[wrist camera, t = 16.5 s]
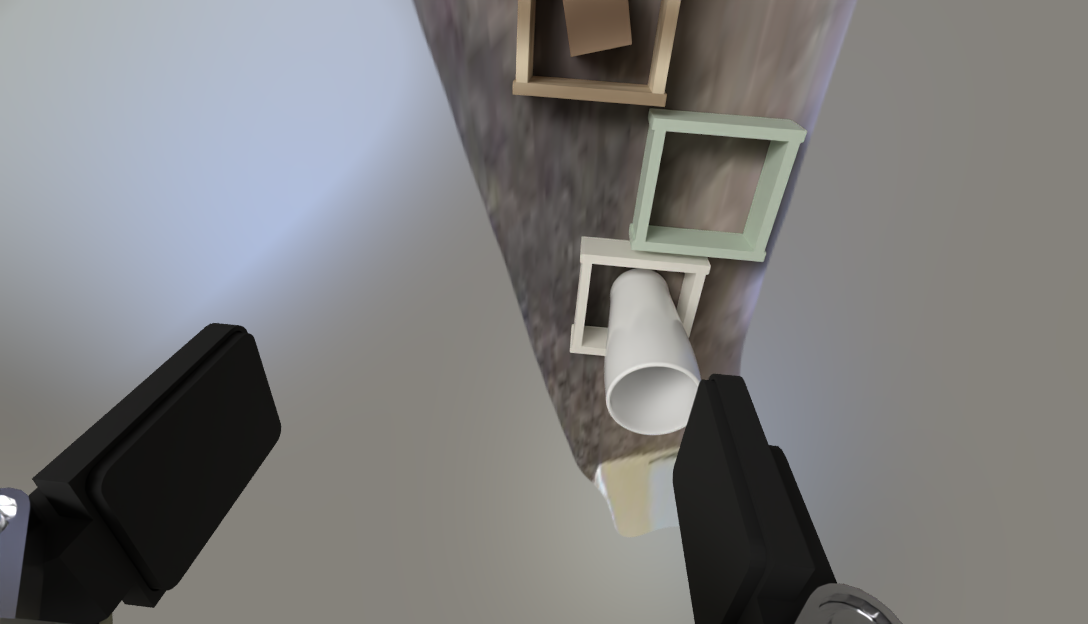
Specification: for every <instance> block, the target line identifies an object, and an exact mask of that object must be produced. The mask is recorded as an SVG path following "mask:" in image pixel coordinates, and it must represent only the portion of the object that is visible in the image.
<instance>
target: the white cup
mask: <svg viewBox="0 0 1088 624" xmlns="http://www.w3.org/2000/svg"><path fill="white" fill-rule="evenodd" d="M701 380H702V379H701V374H700V370H699V366H698V363H697V359H696V356H695V353H694V350H693V348H692V345H691V343H690V340H689V338H688V336H687V333H686V331H685V329H684V326H683V324H682V322H681V319H680V317H679V315H678V312H677V310H676V308H675V305H674V303H673V300H672V298H671V295H670V292H669V288H668V285H667V283H666V281H665V279H664V278H663V277H662V276H661V275H660V274H658V273H657V272H655V271H653V270H650V269H643V268H635V269H631V270H628V271H626V272H624V273H622V274H621V275H620V276H619V277H618V278H617V279H616V280H615V281H614V283H613V285H612V287H611V291H610V312H609V322H608V331H607V340H606V348H605V360H604V383H605V395H606V404H607V408H608V411H609V413H610V415H611V416H612V418H613V419H614V420H615V421H616V422H617V423H618V424H619V425H621V426H622V427H624V428H626V429H628V430H630V431H632V432H635V433H639V434H645V435H662V434H668V433H672V432H675V431H678V430H680V429H682V428H684V427H686V425H687V422H688V419H689V415H690V412H691V409H692V405H693V402H694V399H695V396H696V392H697V389H698V386H699V383H700V381H701Z"/></svg>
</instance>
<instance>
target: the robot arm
mask: <svg viewBox="0 0 1088 624" xmlns="http://www.w3.org/2000/svg"><path fill="white" fill-rule="evenodd" d="M280 433H281V423H280V420H279V416H278V413H277V410H276V407H275V404H274V400H273V397H272V394H271V391H270V387H269V384H268V381H267V378H266V374H265V371H264V368H263V365H262V361H261V358H260V355H259V352H258V349H257V345H256V342H255V339H254V337H253V336H252V335H251V334H249V333H248V332H247V330H246V329H245V328H244V327H242V326H239V325H228V324H219V323H212V324H209V325H208V326H206V327H205V328H204V329H203V330H201V331H200V332H199V333H198V334H197V335H196V336H195V337H194V338H192V339H191V340H190V341H189V342H188V343H187V344H185V345H184V346H183V347H182V348H181V349H180V350H179V351H177V352H176V353H175V354H174V355H173V356H172V357H171V358H169V359H168V360H167V361H166V362H165V363H164V364H163V365H161V366H160V367H159V368H158V369H157V370H156V371H155V372H153V373H152V374H151V375H150V376H149V377H148V378H147V379H145V380H144V381H143V382H142V383H141V384H140V385H139V386H137V387H136V388H135V389H134V390H133V391H132V392H131V393H130V394H128V395H127V396H126V397H125V398H124V399H123V400H121V401H120V402H119V403H118V404H117V405H116V406H115V407H113V408H112V409H111V410H110V411H109V412H108V413H107V414H105V415H104V416H103V417H102V418H101V419H100V420H99V421H97V422H96V423H95V424H94V425H93V426H92V427H91V428H89V429H88V430H87V431H86V432H85V433H84V434H83V435H81V436H80V437H79V438H78V439H77V440H76V441H75V442H73V443H72V444H71V445H70V446H69V447H68V448H67V449H65V450H64V451H63V452H62V453H61V454H60V455H59V456H57V457H56V458H55V459H54V460H53V461H52V462H51V463H49V464H48V465H47V466H46V467H45V468H44V469H43V470H41V471H40V472H39V473H38V474H37V475H36V476H35V477H33V479H32V480H33V481H34V482H35V484H36V485H37V486H38V488H37V489H36V490H34V491H33V492H32V493H31V494H30V495H29V496H28V495H27V494H26V493H25V492H23V491H22V490H19V489H15V488H0V624H113V618H112V612H113V611H114V610H115V608H116V607H117V606H118V604H119V603H120V602H121V600H122V601H123V602H124V603H125V604H128V605H136V606H145V607H152V608H154V607H155V606H156V604H157V603H158V601H159V600H160V599H161V597H162V596H163V594H164V593H165V592H166V590H170V589H172V588H173V587H175V586H176V585H177V584H178V583H179V581H180V580H181V579H182V577H183V576H184V574H185V573H186V572H187V570H188V569H189V567H190V566H191V564H192V563H193V561H194V560H195V559H196V557H197V556H198V554H199V553H200V551H201V550H202V549H203V547H204V546H205V544H206V543H207V542H208V540H209V539H210V537H211V536H212V534H213V533H214V531H215V530H216V529H217V527H218V526H219V524H220V523H221V521H222V520H223V518H224V517H225V516H226V514H227V513H228V511H229V510H230V508H231V507H232V506H233V504H234V503H235V501H236V500H237V498H238V497H239V495H240V494H241V493H242V491H243V490H244V488H245V487H246V486H247V484H248V483H249V481H250V480H251V478H252V477H253V476H254V474H255V473H256V471H257V470H258V468H259V467H260V466H261V464H262V462H263V461H264V460H265V458H266V457H267V456H268V454H269V453H270V451H271V450H272V448H273V447H274V445H275V444H276V443H277V441H278V439H279V437H280ZM673 487H674V494H675V500H676V506H677V513H678V519H679V525H680V531H681V538H682V544H683V551H684V557H685V563H686V570H687V576H688V582H689V589H690V595H691V601H692V607H693V614H694V620H695V624H902V622H901V621H900V620H899V619H898V618H897V617H896V615H895V614H894V613H893V612H892V611H891V610H890V609H889V608H888V607H886V606H885V605H884V604H883V603H882V602H880V601H879V600H878V599H877V598H875V597H873V596H872V595H869V594H868V593H866V592H864V591H863V590H861V589H859V588H855V587H852V586H849V585H845V584H837V582H836V579H835V577H834V574H833V572H832V570H831V567H830V564H829V562H828V560H827V557H826V555H825V552H824V550H823V547H822V545H821V542H820V540H819V538H818V535H817V532H816V530H815V527H814V525H813V523H812V520H811V518H810V515H809V513H808V510H807V508H806V505H805V503H804V501H803V498H802V495H801V493H800V491H799V488H798V486H797V483H796V481H795V478H794V476H793V473H792V471H791V469H790V466H789V463H788V461H787V459H786V457H785V455H784V453H783V451H782V450H781V449H780V448H779V447H778V446H772V445H768V442H767V440H766V437H765V435H764V432H763V429H762V426H761V424H760V421H759V418H758V416H757V413H756V411H755V408H754V405H753V403H752V400H751V397H750V395H749V392H748V390H747V387H746V384H745V382H744V380H743V378H742V377H740V376H732V375H722V374H712V375H711V376H710V377H709V380H701V381H700V383H699V386H698V389H697V392H696V396H695V399H694V402H693V405H692V409H691V412H690V415H689V419H688V422H687V425H686V429H685V432H684V435H683V439H682V442H681V445H680V449H679V452H678V455H677V459H676V462H675V465H674V469H673Z"/></svg>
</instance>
